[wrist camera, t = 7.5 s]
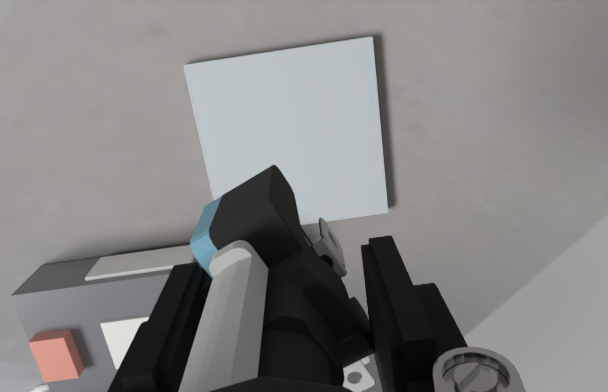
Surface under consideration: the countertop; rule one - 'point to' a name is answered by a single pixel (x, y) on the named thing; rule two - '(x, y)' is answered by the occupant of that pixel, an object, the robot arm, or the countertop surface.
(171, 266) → the power strip
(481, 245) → the countertop surface
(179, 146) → the countertop surface
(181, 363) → the robot arm
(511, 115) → the countertop surface
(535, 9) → the countertop surface
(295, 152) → the pale blue mat
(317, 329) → the push button
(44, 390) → the decorative candle
